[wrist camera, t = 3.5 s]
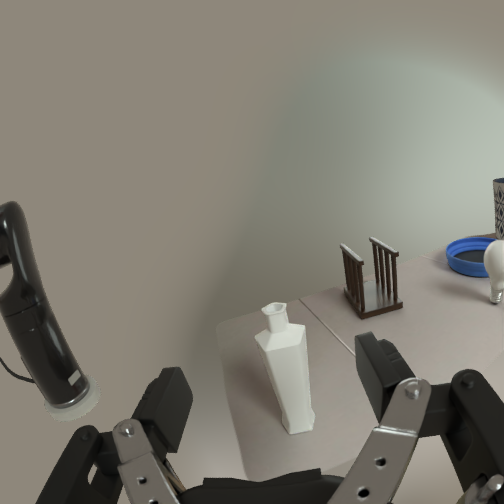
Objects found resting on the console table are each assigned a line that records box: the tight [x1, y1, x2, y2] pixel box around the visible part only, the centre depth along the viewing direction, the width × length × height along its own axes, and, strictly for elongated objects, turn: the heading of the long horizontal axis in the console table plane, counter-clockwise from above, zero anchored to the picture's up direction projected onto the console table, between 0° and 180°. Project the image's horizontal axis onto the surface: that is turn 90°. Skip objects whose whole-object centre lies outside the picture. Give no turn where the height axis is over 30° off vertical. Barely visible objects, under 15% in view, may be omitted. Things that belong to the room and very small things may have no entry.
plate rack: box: [340, 237, 403, 319], centre depth 48 cm, size 12×8×10 cm, turn 177°
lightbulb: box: [484, 240, 504, 304], centre depth 31 cm, size 6×6×11 cm
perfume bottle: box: [255, 303, 316, 434], centre depth 25 cm, size 5×4×15 cm
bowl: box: [446, 237, 497, 277], centre depth 47 cm, size 18×18×4 cm
